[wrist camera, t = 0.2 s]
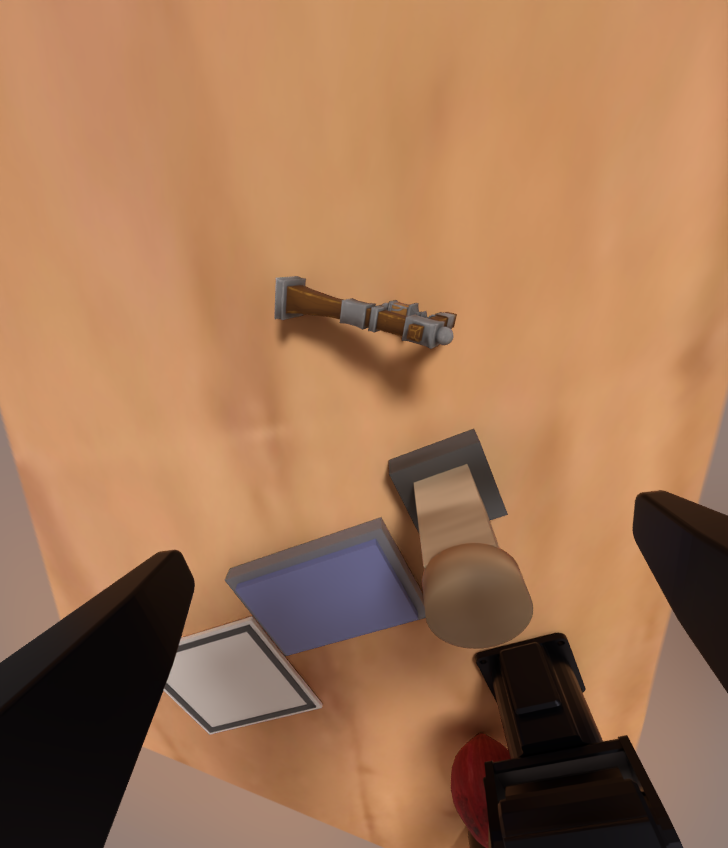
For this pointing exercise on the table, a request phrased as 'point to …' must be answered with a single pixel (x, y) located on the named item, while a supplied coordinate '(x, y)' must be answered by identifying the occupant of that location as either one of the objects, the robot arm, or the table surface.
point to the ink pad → (330, 588)
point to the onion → (474, 783)
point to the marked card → (236, 678)
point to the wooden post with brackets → (364, 313)
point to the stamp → (462, 544)
